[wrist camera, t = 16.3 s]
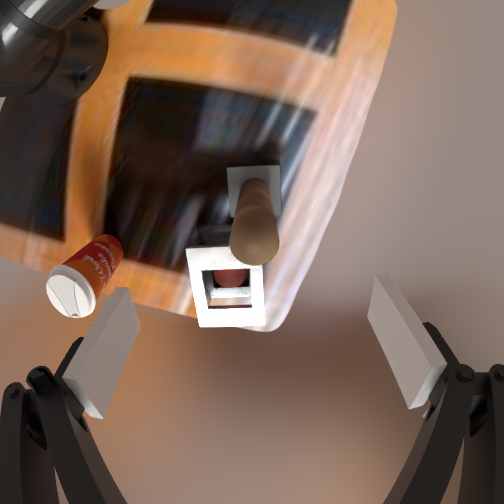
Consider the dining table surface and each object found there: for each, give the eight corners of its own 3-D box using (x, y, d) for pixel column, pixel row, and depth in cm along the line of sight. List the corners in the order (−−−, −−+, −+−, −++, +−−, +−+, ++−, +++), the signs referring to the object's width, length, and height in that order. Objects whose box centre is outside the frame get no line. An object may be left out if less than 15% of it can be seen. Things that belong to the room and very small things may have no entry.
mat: (230, 216, 41) (230, 217, 40) (227, 167, 38) (226, 168, 37) (280, 213, 41) (281, 215, 40) (279, 164, 38) (280, 165, 37)
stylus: (240, 207, 40) (231, 266, 24) (238, 178, 38) (227, 221, 23) (269, 205, 40) (279, 264, 24) (268, 177, 38) (278, 218, 23)
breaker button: (246, 276, 44) (246, 287, 41) (217, 277, 44) (215, 288, 41) (245, 250, 42) (244, 259, 39) (214, 251, 42) (211, 261, 39)
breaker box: (262, 292, 46) (264, 324, 39) (207, 294, 47) (200, 326, 40) (259, 221, 41) (261, 245, 34) (197, 225, 41) (185, 248, 34)
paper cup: (134, 268, 45) (99, 322, 32) (97, 271, 45) (57, 321, 32) (122, 223, 41) (77, 267, 29) (83, 229, 42) (35, 271, 29)
